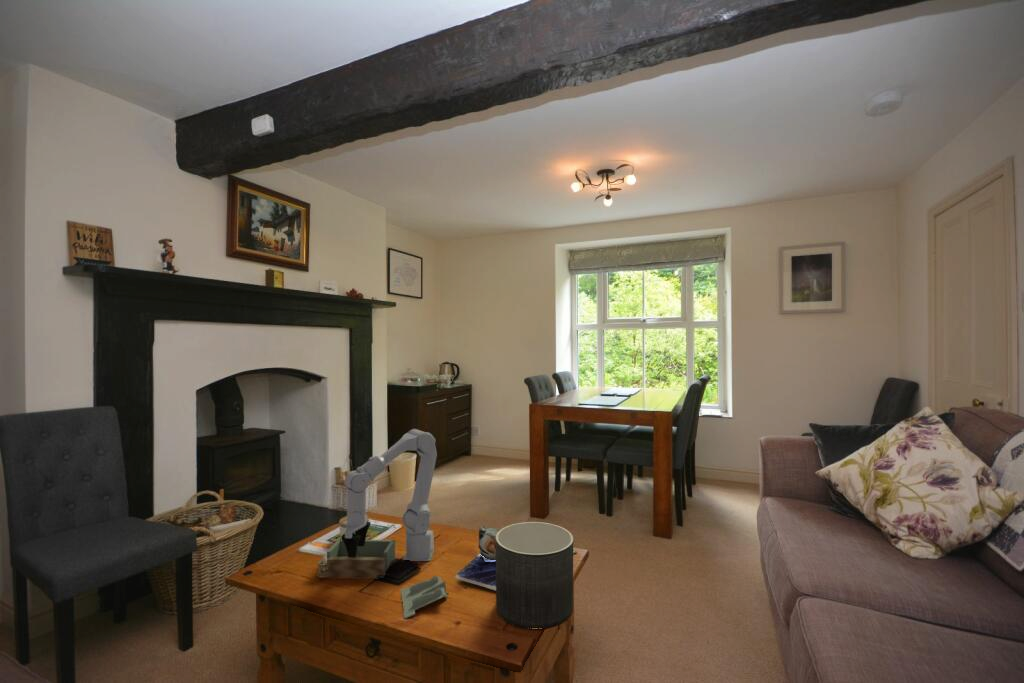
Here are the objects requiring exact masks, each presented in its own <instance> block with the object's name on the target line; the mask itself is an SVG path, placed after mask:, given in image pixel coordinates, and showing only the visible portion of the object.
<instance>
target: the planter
mask: <svg viewBox="0 0 1024 683" xmlns="http://www.w3.org/2000/svg"><path fill="white" fill-rule="evenodd" d="M495 597H496V598H495V608H496V612H497V614H498V615H499V617H500V618H501V619H502V620H503V621H505V623H508V624H509V625H512V626H514V627H517V628H521V629H524V628H527V629H526V630H533V629H532V628H538V629H539V628H542V629H541V630H547V629H552V628H555V627H558V626H560V625H562V624H564V623H566V621H568V620H569V619H570V617H571V616H572V614H573V611H574V536H573V534H572V533H571V531H569V530H567V529H566V528H564V527H562V526H560V525H556V524H553V523H549V522H542V521H541V522H540V521H525V522H518V523H513V524H510V525H507V526H504V527H503V528H501V529H500V530H498V533H497V534H496V562H495ZM528 628H529V629H528ZM530 628H531V629H530Z"/></svg>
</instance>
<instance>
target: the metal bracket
mask: <svg viewBox="0 0 1024 683" xmlns="http://www.w3.org/2000/svg"><path fill="white" fill-rule="evenodd" d="M400 592H401V596H402V597H401V603H402V602H403V604H402V609H404V611H403V610H402V616H403V615H404V617H403V619H404V620H406V619H408V618H410V617H412V616H415V615H416V610H419V609H421V608H423V607H426V606H428V605H429V604H432V603H434V602H436V601H438V600H440V599H443V598H445V600H446V601H447V596H449V594H450V593H449V591H448V592H447V588H446V581H442V578H441V576H437V575H433V576H432V577H431V578H430V579H427V580H424V581H423V580H422V581H420V582H417V583H415V584H413V585H411V586H407V587H405V588H402V589H400V591H399V593H400ZM403 612H404V613H403Z"/></svg>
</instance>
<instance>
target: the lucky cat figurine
mask: <svg viewBox="0 0 1024 683" xmlns="http://www.w3.org/2000/svg"><path fill="white" fill-rule="evenodd" d="M498 532H499V530H498V529H496V528H493V527H488V528H485V526H484V525H481V526H480V527H479V528H478V549H479V555H480V554H481V555H482V556H484V557H485V558H487V559H490V560H496V534H497V533H498ZM481 555H480V556H481Z"/></svg>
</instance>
